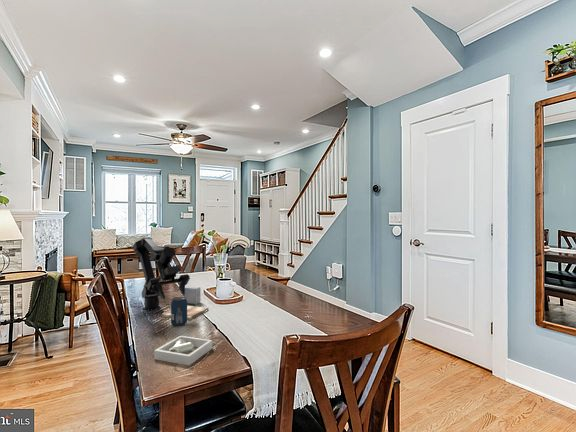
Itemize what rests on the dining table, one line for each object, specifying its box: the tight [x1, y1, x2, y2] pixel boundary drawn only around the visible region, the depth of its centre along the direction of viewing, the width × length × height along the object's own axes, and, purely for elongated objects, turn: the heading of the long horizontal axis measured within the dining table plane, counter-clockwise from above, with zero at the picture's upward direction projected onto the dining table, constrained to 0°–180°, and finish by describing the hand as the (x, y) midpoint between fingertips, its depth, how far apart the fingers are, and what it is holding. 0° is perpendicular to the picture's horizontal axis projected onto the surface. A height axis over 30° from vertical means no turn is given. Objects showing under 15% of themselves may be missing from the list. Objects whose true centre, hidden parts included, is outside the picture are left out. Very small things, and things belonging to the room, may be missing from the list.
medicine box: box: [183, 286, 202, 305], centre depth 177 cm, size 8×4×9 cm, turn 74°
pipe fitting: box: [169, 339, 195, 354], centre depth 113 cm, size 8×4×7 cm
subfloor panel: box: [161, 305, 209, 321], centre depth 159 cm, size 16×16×1 cm
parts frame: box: [153, 335, 213, 366], centre depth 113 cm, size 14×14×3 cm
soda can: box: [170, 296, 188, 328], centre depth 142 cm, size 7×7×12 cm
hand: (174, 297), depth 146 cm, fingers open, 9 cm apart
